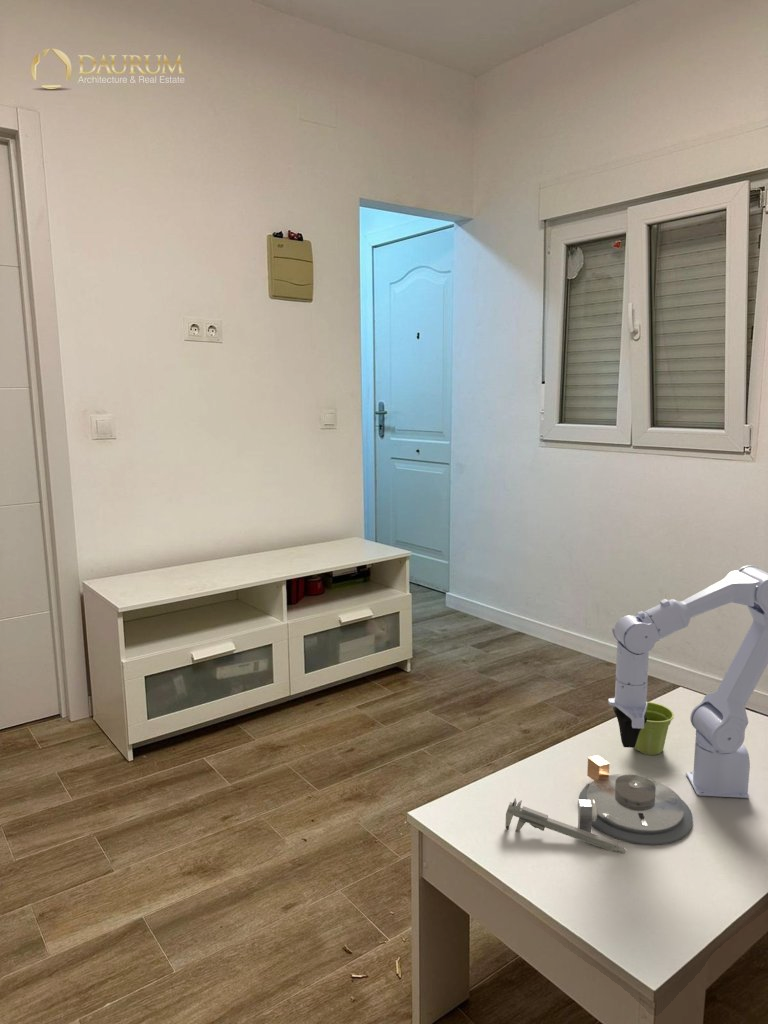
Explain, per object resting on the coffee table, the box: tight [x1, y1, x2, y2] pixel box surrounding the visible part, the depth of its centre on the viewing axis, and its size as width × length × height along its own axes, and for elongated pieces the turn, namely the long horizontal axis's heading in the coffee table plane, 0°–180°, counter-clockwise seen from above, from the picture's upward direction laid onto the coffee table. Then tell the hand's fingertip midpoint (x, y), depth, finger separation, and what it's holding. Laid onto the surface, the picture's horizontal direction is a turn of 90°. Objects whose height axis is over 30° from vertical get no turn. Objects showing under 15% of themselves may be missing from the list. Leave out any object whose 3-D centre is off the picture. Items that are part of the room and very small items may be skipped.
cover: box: [615, 774, 656, 811], centre depth 134 cm, size 7×7×3 cm
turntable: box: [586, 754, 684, 834], centre depth 136 cm, size 17×20×4 cm
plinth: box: [577, 783, 694, 846], centre depth 135 cm, size 20×20×1 cm
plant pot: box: [633, 701, 675, 756], centre depth 157 cm, size 9×9×9 cm
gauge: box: [577, 799, 597, 833], centre depth 129 cm, size 3×4×6 cm
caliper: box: [505, 797, 626, 854], centre depth 127 cm, size 20×1×6 cm, turn 70°
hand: (628, 745), depth 140 cm, fingers closed
